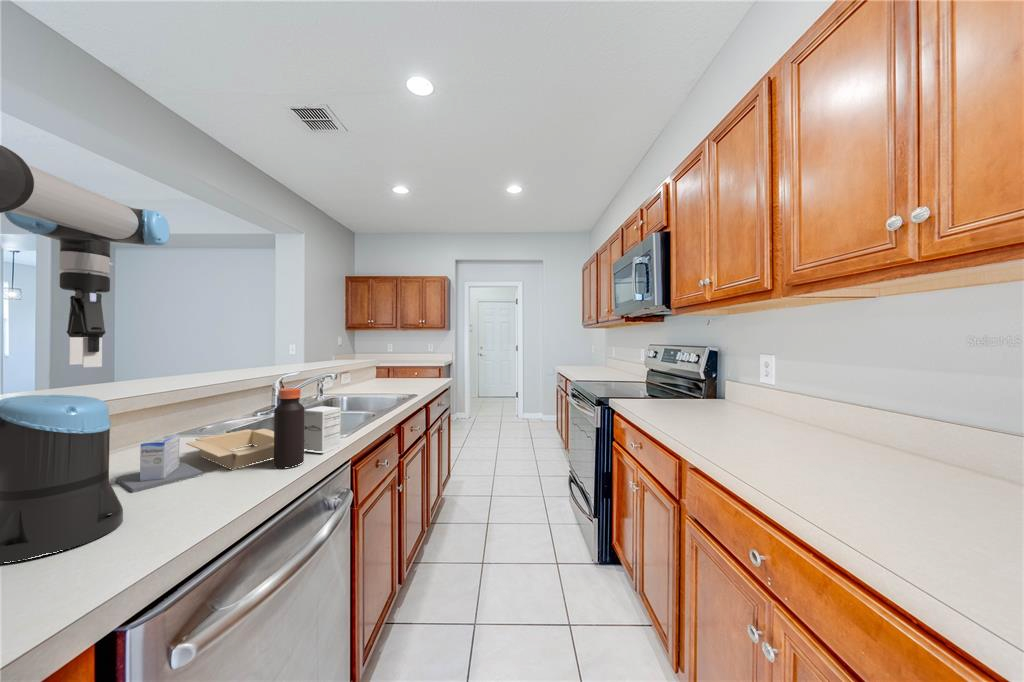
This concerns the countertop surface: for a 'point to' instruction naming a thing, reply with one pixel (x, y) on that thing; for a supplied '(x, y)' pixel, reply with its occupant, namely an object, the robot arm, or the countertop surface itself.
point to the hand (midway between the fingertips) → (84, 365)
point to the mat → (180, 473)
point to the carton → (222, 443)
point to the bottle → (288, 429)
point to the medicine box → (159, 457)
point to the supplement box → (321, 428)
